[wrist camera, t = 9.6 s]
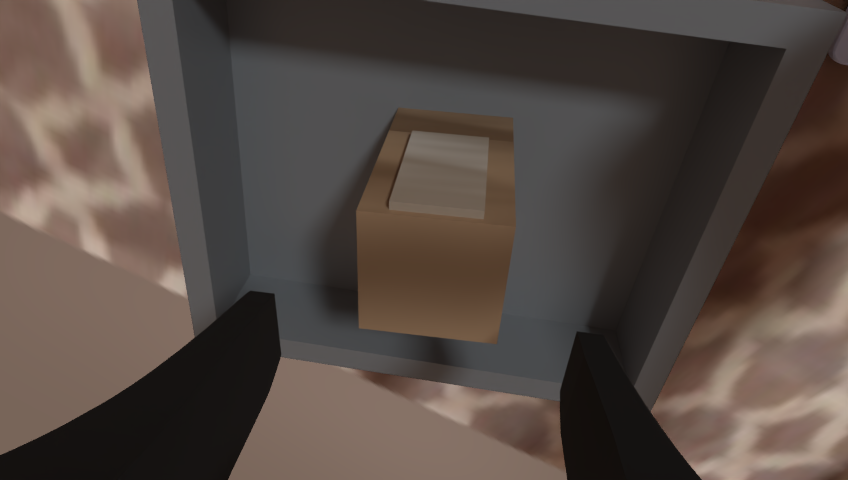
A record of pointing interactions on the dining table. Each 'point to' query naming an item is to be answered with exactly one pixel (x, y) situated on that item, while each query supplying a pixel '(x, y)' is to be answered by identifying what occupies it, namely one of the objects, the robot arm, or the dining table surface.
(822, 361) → the dining table surface
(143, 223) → the dining table surface
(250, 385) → the robot arm
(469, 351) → the bin
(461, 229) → the small brown box
